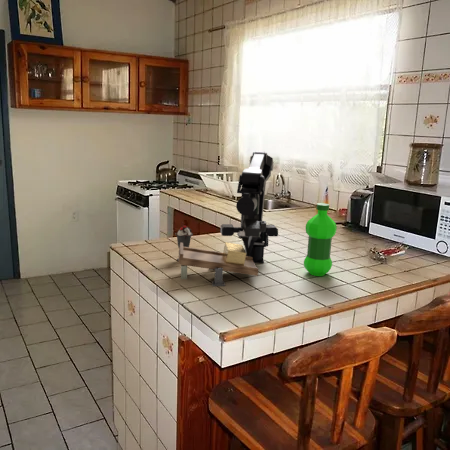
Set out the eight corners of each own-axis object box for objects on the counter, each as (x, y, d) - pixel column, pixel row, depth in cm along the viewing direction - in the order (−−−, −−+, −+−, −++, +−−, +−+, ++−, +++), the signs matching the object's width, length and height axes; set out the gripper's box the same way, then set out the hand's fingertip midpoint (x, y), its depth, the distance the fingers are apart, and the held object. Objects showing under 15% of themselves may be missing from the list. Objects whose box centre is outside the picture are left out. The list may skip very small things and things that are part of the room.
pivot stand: (219, 267, 164) (220, 252, 163) (224, 286, 146) (225, 269, 144) (180, 267, 163) (181, 252, 161) (180, 285, 144) (181, 269, 143)
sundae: (176, 263, 167) (176, 223, 164) (173, 257, 173) (173, 219, 170) (193, 262, 169) (194, 222, 165) (190, 257, 175) (191, 218, 172)
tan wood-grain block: (239, 258, 159) (242, 244, 158) (243, 267, 150) (246, 253, 149) (222, 255, 158) (225, 242, 157) (225, 264, 149) (228, 250, 148)
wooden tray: (250, 264, 163) (252, 253, 162) (257, 277, 148) (259, 265, 148) (178, 253, 159) (180, 242, 158) (178, 266, 145) (180, 254, 144)
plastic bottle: (338, 276, 160) (345, 206, 154) (314, 280, 154) (321, 207, 149) (318, 267, 168) (324, 201, 162) (296, 271, 163) (301, 202, 157)
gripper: (224, 214, 142) (222, 262, 145) (283, 214, 144) (280, 262, 147) (221, 207, 152) (219, 252, 156) (275, 208, 155) (273, 252, 158)
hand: (247, 254), depth 154 cm, fingers closed
